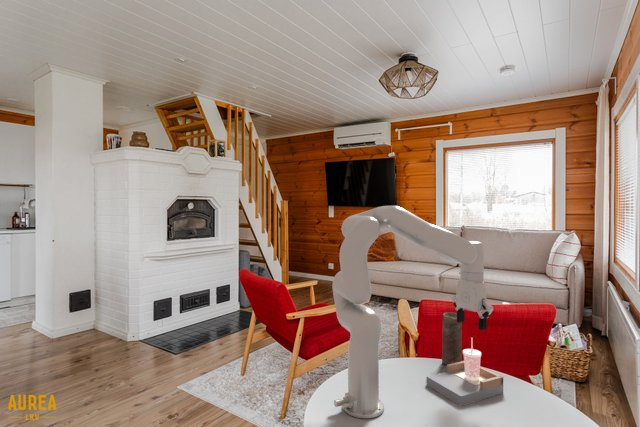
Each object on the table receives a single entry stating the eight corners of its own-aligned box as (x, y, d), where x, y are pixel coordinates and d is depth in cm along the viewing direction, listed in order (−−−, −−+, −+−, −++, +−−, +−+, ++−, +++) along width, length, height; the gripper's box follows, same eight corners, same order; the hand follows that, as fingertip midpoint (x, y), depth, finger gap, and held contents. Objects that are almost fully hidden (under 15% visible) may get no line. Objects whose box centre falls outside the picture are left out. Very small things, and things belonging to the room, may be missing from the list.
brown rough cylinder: (459, 360, 155) (459, 312, 155) (464, 368, 148) (464, 317, 148) (440, 360, 156) (439, 311, 156) (444, 367, 148) (444, 316, 148)
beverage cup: (458, 375, 134) (458, 336, 134) (472, 372, 136) (472, 333, 136) (471, 382, 128) (471, 341, 128) (485, 379, 130) (485, 339, 130)
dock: (461, 405, 119) (460, 388, 119) (426, 384, 134) (426, 369, 134) (503, 393, 127) (503, 376, 127) (466, 374, 142) (466, 360, 142)
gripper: (445, 273, 138) (445, 320, 138) (484, 281, 122) (483, 334, 122) (461, 272, 141) (460, 318, 141) (500, 280, 126) (500, 331, 126)
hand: (471, 325), depth 132 cm, fingers open, 9 cm apart
